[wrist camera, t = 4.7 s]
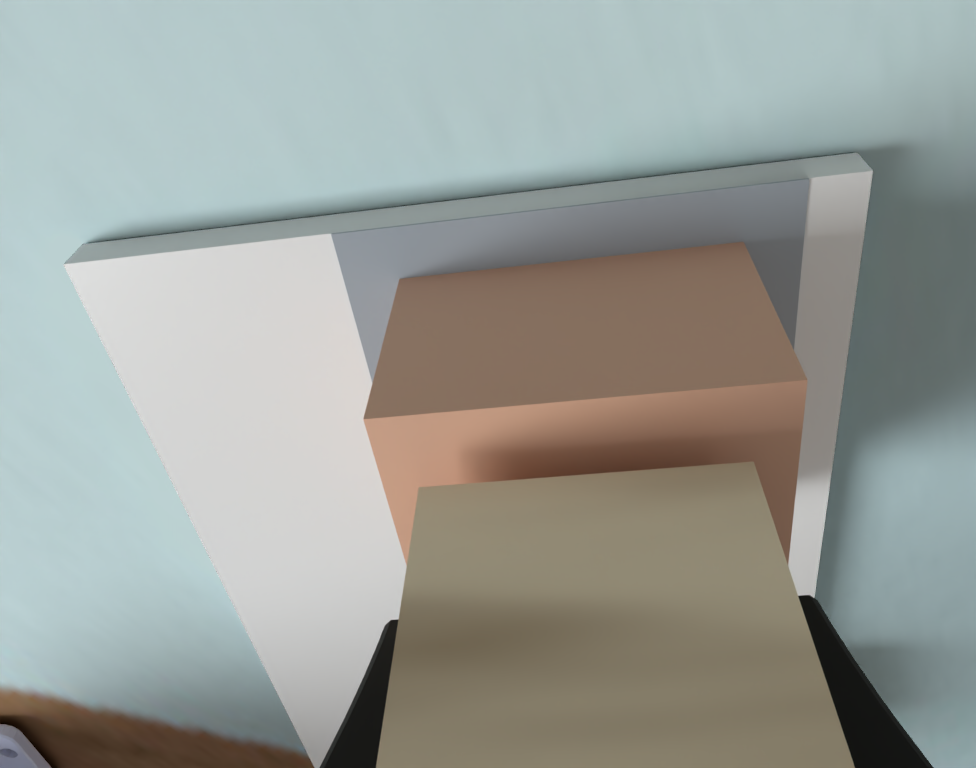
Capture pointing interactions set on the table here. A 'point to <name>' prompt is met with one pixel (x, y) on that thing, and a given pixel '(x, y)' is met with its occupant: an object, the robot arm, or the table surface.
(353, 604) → the mat
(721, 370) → the terracotta block
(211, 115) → the table surface
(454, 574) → the maple block
